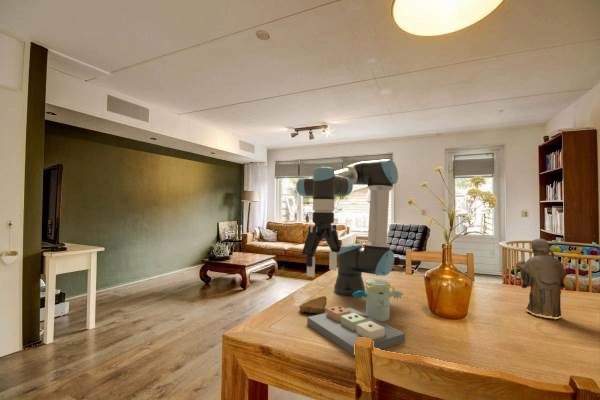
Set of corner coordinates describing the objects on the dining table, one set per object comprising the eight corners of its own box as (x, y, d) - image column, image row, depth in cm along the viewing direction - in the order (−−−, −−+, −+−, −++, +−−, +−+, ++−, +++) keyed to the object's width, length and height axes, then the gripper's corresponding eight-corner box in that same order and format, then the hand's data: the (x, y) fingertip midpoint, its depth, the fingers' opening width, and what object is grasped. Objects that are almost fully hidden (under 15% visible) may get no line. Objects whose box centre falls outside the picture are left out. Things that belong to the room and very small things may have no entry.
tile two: (354, 321, 101) (354, 311, 101) (366, 327, 96) (366, 317, 96) (340, 324, 98) (340, 315, 98) (352, 331, 93) (352, 321, 93)
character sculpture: (356, 323, 104) (356, 286, 104) (349, 312, 116) (349, 278, 116) (410, 323, 105) (411, 286, 105) (398, 312, 116) (399, 278, 116)
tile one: (370, 330, 94) (370, 319, 94) (384, 337, 89) (384, 326, 89) (356, 334, 91) (356, 323, 91) (370, 341, 86) (370, 330, 86)
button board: (350, 313, 113) (350, 307, 114) (405, 341, 91) (405, 333, 91) (307, 324, 103) (307, 317, 103) (356, 357, 81) (356, 348, 81)
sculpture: (567, 315, 114) (567, 239, 115) (566, 323, 107) (566, 242, 107) (518, 306, 125) (518, 236, 125) (514, 312, 117) (514, 238, 118)
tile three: (339, 313, 108) (339, 304, 108) (350, 319, 103) (350, 310, 103) (326, 316, 105) (326, 307, 105) (336, 322, 100) (337, 313, 100)
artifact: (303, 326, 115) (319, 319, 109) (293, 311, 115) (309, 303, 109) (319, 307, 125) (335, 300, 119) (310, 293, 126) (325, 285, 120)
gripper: (333, 211, 113) (332, 265, 113) (291, 211, 94) (290, 277, 93) (350, 211, 108) (349, 268, 108) (310, 212, 89) (309, 281, 88)
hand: (322, 272), depth 101 cm, fingers open, 13 cm apart
